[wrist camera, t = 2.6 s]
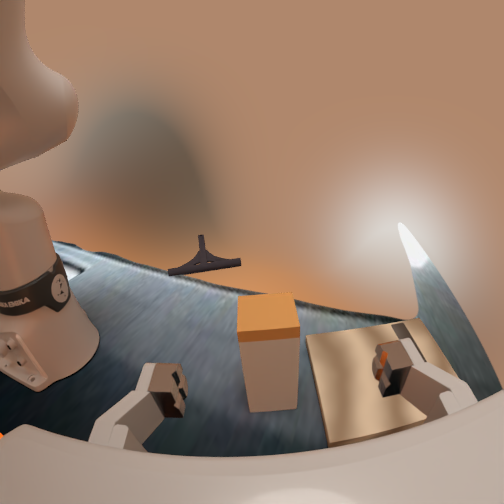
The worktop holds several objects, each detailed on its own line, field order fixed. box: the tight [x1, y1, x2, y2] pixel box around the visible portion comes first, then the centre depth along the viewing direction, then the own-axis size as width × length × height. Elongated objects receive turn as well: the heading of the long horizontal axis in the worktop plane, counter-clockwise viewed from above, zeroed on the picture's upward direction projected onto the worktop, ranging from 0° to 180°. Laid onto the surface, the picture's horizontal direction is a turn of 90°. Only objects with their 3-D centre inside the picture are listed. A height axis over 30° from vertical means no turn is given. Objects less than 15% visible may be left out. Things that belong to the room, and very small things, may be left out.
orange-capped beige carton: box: [237, 292, 300, 412], centre depth 28 cm, size 5×5×12 cm
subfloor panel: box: [306, 318, 459, 448], centre depth 30 cm, size 17×16×1 cm
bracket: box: [168, 235, 241, 276], centre depth 64 cm, size 14×15×3 cm
